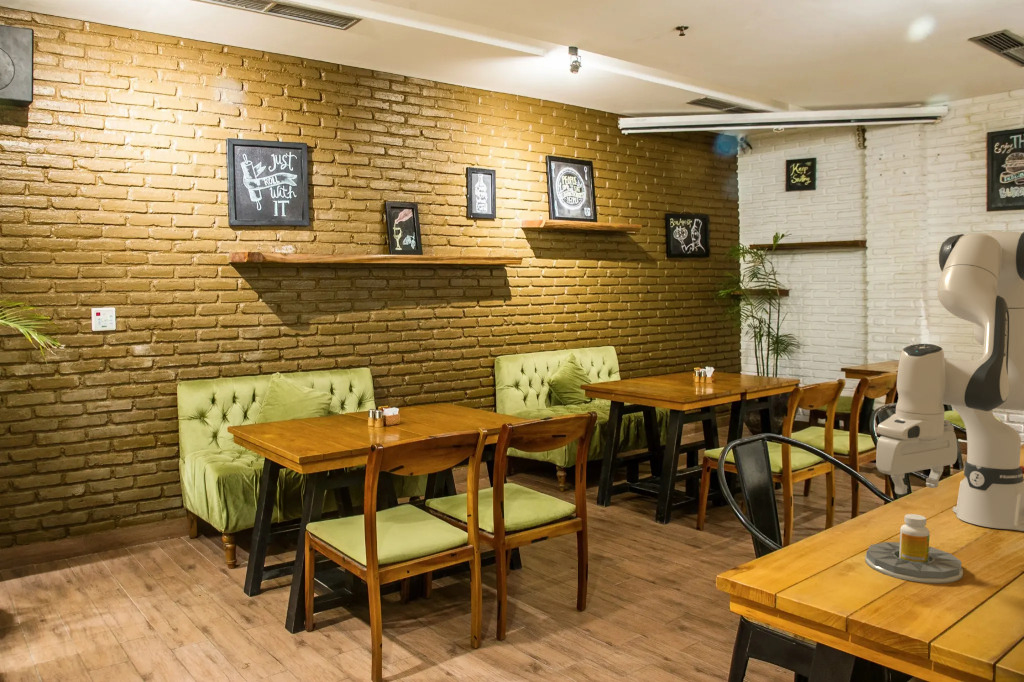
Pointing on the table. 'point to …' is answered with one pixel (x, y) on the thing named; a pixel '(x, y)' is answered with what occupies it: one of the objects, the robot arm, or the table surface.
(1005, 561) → the table surface
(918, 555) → the supplement bottle
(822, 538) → the table surface
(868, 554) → the grey faceted round plate
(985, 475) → the robot arm
